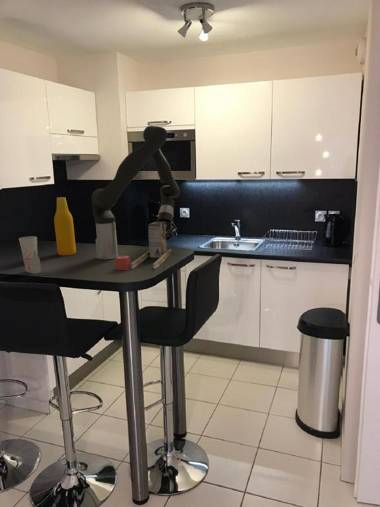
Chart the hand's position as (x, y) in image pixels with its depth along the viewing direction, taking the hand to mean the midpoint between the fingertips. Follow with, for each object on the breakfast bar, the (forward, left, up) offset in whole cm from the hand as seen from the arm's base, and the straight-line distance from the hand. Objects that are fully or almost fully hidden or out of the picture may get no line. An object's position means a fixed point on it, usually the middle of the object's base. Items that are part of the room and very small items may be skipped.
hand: (161, 243), depth 206 cm
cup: (-59, -22, -5) cm, 63 cm away
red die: (-9, -31, -5) cm, 33 cm away
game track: (0, -16, -5) cm, 17 cm away
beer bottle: (-50, -3, -5) cm, 50 cm away
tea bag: (-48, -38, -5) cm, 61 cm away
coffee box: (0, -6, -5) cm, 8 cm away
